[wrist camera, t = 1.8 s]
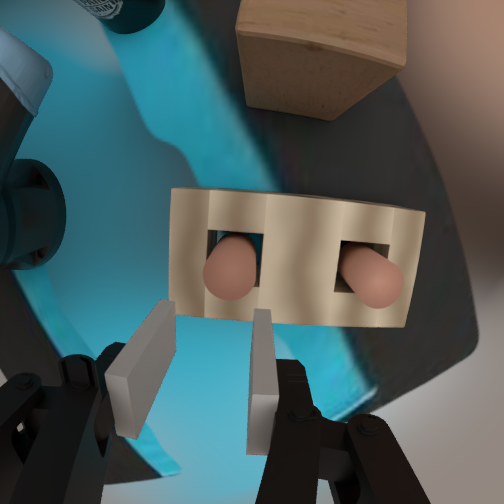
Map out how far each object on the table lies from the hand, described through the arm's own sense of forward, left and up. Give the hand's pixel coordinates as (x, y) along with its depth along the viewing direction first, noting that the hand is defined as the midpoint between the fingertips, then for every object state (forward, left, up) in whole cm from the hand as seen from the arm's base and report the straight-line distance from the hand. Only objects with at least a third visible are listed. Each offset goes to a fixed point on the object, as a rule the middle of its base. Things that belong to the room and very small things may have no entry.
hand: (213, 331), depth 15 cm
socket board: (+6, 0, -23) cm, 23 cm away
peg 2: (+12, 0, -18) cm, 21 cm away
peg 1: (0, 0, -18) cm, 18 cm away
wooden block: (+5, +20, -23) cm, 31 cm away
